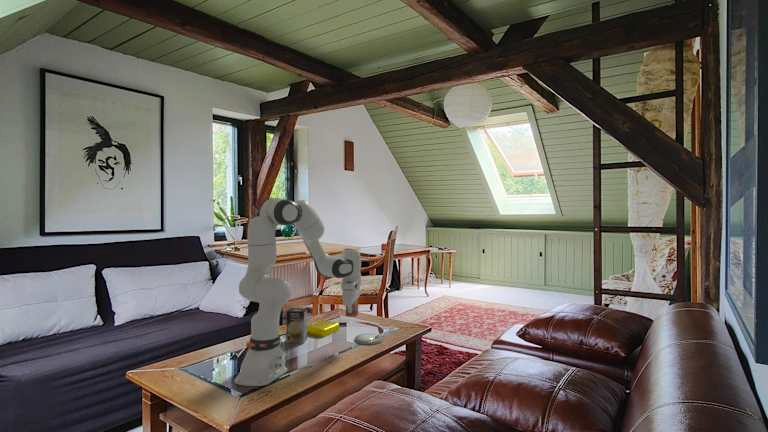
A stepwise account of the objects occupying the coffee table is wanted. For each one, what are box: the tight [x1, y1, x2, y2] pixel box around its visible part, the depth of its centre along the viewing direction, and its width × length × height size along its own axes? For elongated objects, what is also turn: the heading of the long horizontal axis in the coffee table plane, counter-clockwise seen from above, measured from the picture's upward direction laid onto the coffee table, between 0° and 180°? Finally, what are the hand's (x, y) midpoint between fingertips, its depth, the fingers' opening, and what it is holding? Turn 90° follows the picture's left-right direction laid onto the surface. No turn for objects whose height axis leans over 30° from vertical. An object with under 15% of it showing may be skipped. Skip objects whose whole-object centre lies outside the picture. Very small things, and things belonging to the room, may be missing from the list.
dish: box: [354, 333, 384, 346], centre depth 212 cm, size 14×14×1 cm
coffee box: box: [285, 307, 308, 345], centre depth 209 cm, size 9×6×16 cm
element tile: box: [307, 318, 340, 338], centre depth 226 cm, size 15×15×5 cm
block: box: [345, 301, 359, 318], centre depth 202 cm, size 5×5×6 cm
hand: (352, 310), depth 202 cm, fingers closed on block, 5 cm apart
